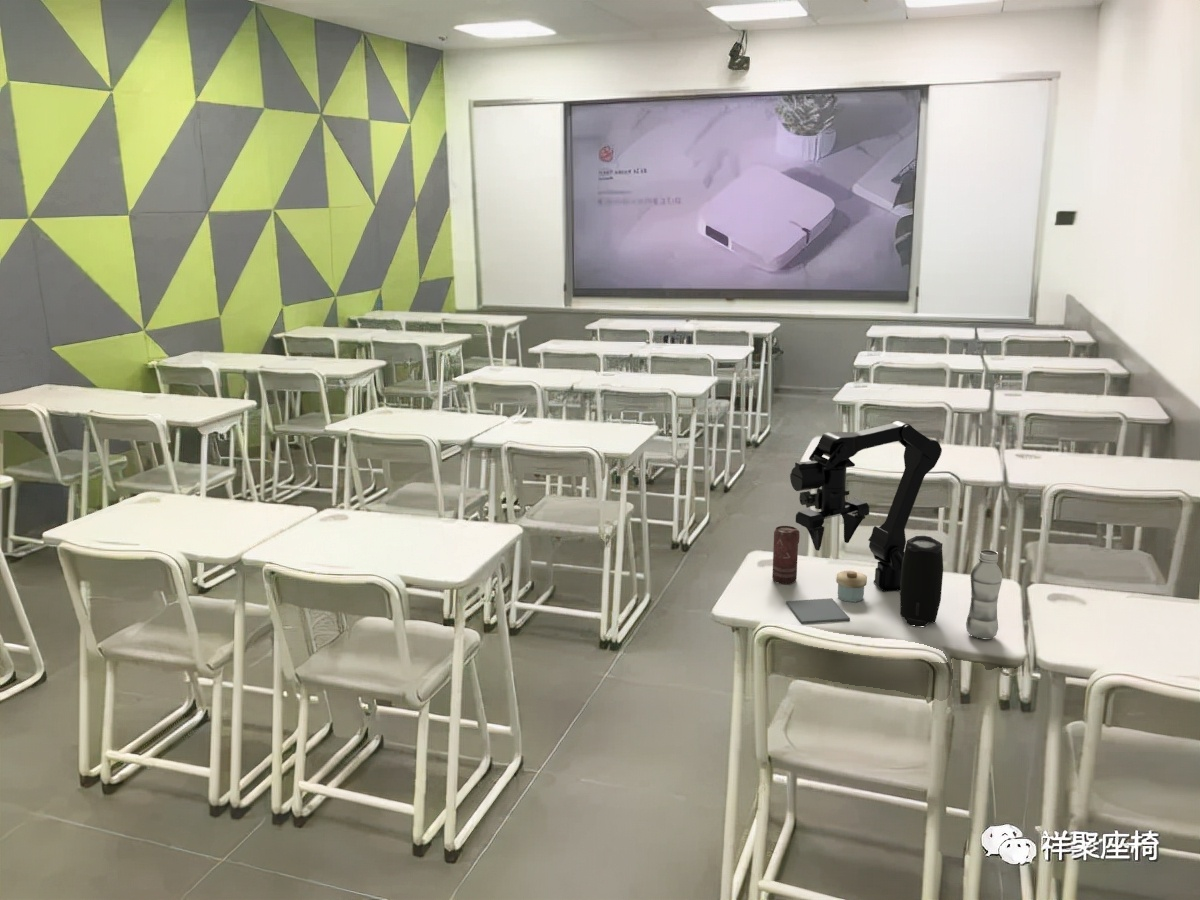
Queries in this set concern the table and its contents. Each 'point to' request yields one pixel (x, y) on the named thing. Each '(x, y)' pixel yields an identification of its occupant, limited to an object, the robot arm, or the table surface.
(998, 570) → the plastic bottle
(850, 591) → the bowl
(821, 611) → the mat
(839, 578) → the lid
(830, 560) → the table surface
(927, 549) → the portable speaker
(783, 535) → the can
